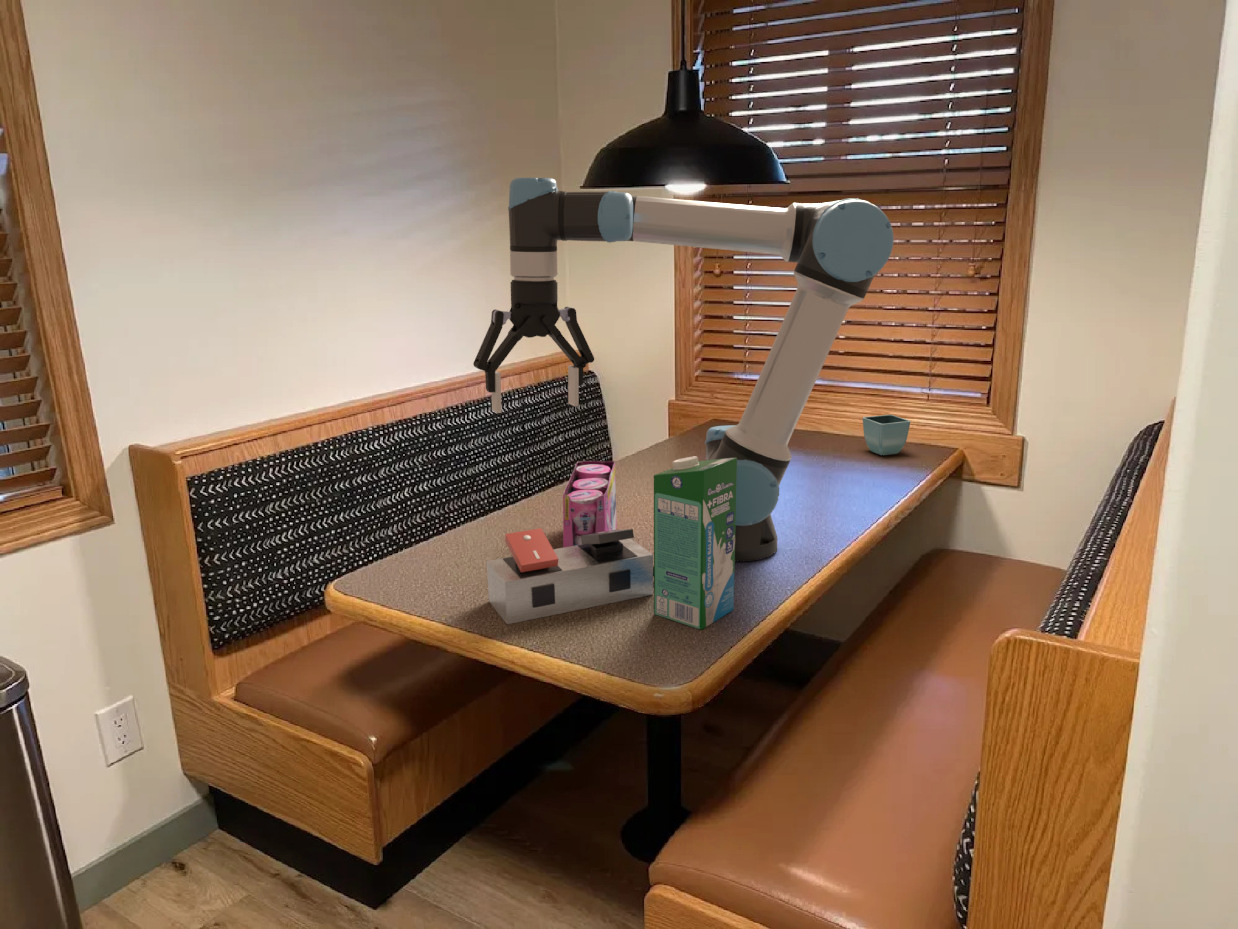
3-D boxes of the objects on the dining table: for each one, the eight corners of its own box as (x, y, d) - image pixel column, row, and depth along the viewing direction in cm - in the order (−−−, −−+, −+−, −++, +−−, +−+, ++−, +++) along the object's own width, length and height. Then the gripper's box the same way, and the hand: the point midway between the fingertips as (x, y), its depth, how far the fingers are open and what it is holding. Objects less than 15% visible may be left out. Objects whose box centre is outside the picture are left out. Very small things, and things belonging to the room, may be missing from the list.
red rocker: (540, 535, 146) (541, 527, 145) (557, 565, 140) (558, 558, 139) (505, 541, 144) (505, 533, 143) (521, 572, 138) (521, 565, 137)
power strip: (664, 567, 159) (664, 523, 156) (691, 587, 150) (691, 541, 148) (488, 601, 146) (486, 554, 143) (507, 625, 137) (505, 575, 135)
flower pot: (859, 450, 234) (861, 416, 231) (888, 447, 236) (891, 413, 234) (878, 458, 225) (880, 423, 223) (908, 455, 228) (911, 421, 226)
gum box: (606, 571, 157) (605, 497, 154) (561, 571, 158) (559, 497, 154) (617, 525, 180) (616, 460, 177) (578, 525, 181) (576, 460, 177)
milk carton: (686, 595, 147) (688, 447, 140) (734, 610, 141) (737, 456, 134) (653, 614, 140) (652, 459, 133) (701, 630, 135) (703, 469, 128)
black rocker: (614, 538, 151) (613, 529, 151) (634, 537, 144) (632, 528, 144) (581, 544, 149) (580, 535, 149) (599, 543, 142) (598, 534, 142)
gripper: (595, 275, 153) (594, 398, 159) (451, 278, 142) (456, 409, 148) (614, 278, 146) (613, 406, 152) (464, 281, 136) (469, 419, 142)
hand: (535, 408), depth 150 cm, fingers open, 13 cm apart
